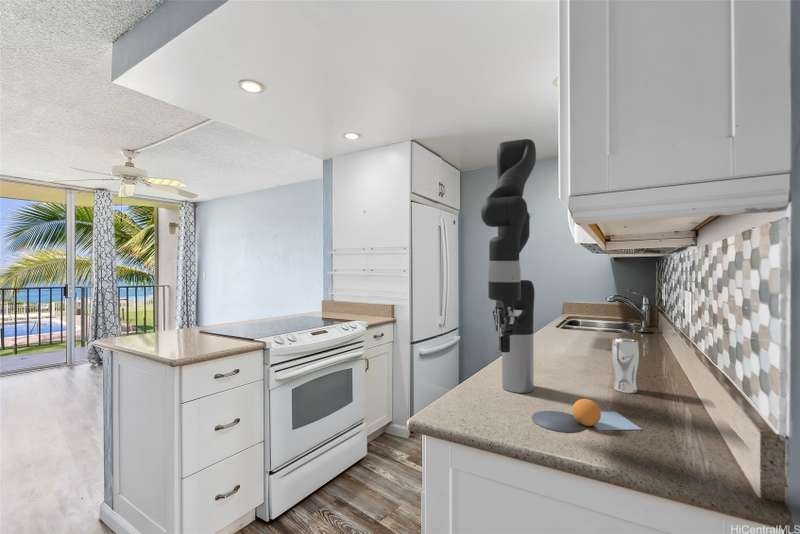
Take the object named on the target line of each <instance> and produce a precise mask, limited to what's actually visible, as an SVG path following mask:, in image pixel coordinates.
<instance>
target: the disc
mask: <svg viewBox="0 0 800 534" xmlns="http://www.w3.org/2000/svg"><path fill="white" fill-rule="evenodd" d="M531 419H532V421H533V423H535V424H536V425H537V426H539V427H541V428H544V429H546V430H550V431H554V432H559V433H578V432H581V431H584V430H586V427H587V426H585V425H582V424H580V423H579V422H578V421H577V420H576V419H575V417H574V415H573V413H572V414H571V413H569V412H568V413H567V412H563V411H558V410H540V411H536V412H534V413H533V414H532V415H531Z"/></svg>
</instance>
